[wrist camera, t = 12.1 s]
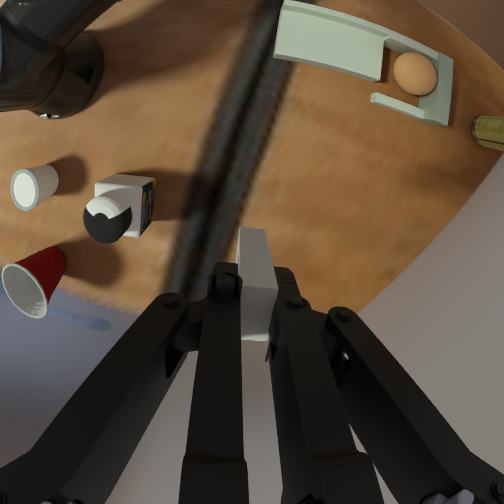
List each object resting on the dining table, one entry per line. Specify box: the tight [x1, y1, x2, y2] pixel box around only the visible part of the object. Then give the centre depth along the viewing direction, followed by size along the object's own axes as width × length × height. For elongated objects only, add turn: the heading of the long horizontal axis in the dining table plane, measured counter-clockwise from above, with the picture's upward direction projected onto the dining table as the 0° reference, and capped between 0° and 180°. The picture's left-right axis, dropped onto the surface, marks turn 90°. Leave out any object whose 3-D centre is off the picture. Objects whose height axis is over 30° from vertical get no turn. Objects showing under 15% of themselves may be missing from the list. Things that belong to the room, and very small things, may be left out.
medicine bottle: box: [83, 174, 156, 244], centre depth 36 cm, size 7×7×12 cm
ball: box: [393, 52, 437, 95], centre depth 32 cm, size 7×7×7 cm
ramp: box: [273, 0, 453, 126], centre depth 32 cm, size 28×12×5 cm, turn 82°
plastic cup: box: [2, 247, 67, 318], centre depth 40 cm, size 11×11×12 cm
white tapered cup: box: [11, 165, 59, 211], centre depth 36 cm, size 7×7×7 cm
